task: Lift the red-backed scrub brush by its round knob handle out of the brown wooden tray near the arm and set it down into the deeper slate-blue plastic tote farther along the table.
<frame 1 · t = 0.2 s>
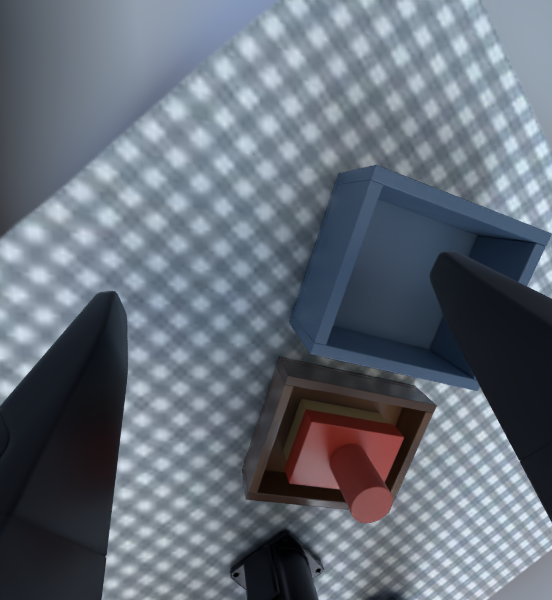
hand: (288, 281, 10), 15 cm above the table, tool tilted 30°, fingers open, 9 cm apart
brown wooden tray: (330, 427, 29), on the table
brush: (332, 431, 28), resting on brown wooden tray
tote: (388, 274, 26), on the table
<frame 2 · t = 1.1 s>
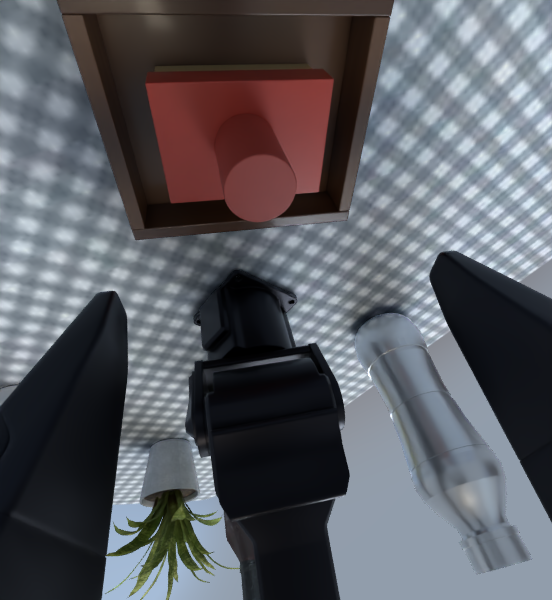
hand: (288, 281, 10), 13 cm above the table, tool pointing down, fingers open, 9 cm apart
house plant: (179, 442, 46), on the table
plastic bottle: (377, 324, 35), on the table
sauce bottle: (241, 396, 41), on the table
brown wooden tray: (235, 115, 18), on the table
brush: (236, 119, 18), resting on brown wooden tray
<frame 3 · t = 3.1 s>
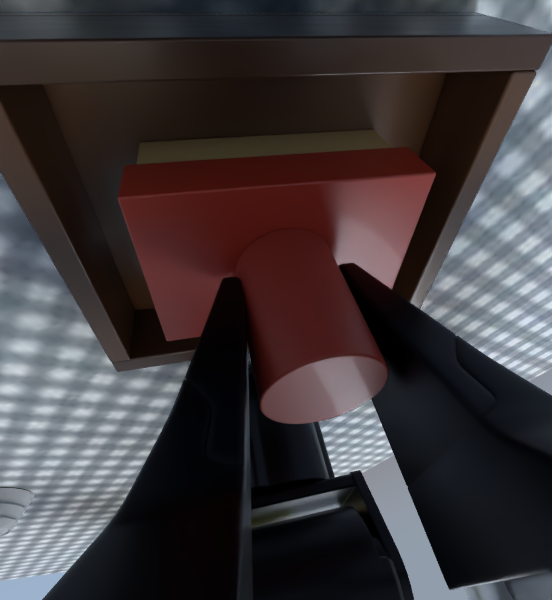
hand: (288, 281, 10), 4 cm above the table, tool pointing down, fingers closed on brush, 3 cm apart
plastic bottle: (417, 398, 30), on the table
brown wooden tray: (261, 197, 12), on the table
brush: (263, 205, 12), point 1 cm above the table, touching brown wooden tray, gripper
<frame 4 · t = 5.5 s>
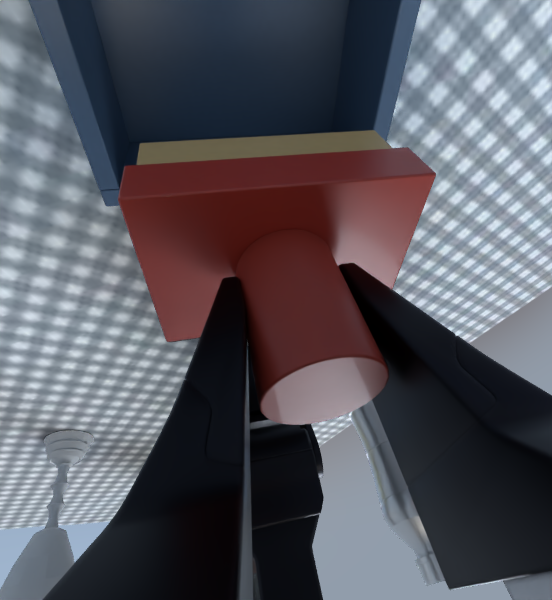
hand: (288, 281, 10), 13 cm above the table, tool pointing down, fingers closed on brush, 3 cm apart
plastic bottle: (358, 373, 42), on the table
brush: (263, 205, 12), point 9 cm above the table, touching gripper
chalice: (69, 438, 40), on the table
tote: (227, 23, 16), on the table
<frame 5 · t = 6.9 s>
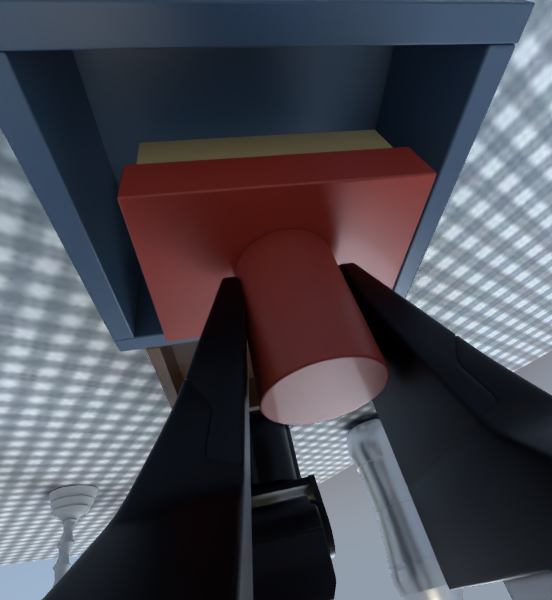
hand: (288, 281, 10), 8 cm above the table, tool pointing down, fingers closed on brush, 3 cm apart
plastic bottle: (366, 422, 42), on the table
brown wooden tray: (253, 338, 25), on the table
brush: (263, 205, 12), point 4 cm above the table, touching gripper
chalice: (74, 491, 39), on the table
tote: (246, 151, 15), on the table
when the fingers open (4 cm above the table, at t = 8.2 s): brush stays where it is, resting on tote.
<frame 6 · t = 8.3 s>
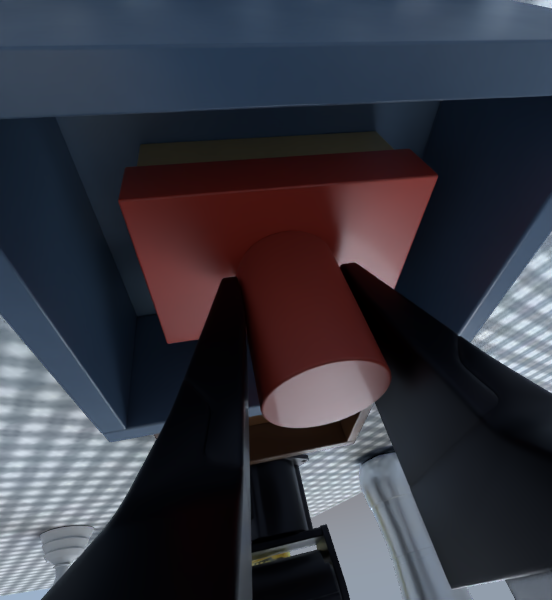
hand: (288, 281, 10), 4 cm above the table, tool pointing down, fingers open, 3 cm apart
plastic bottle: (379, 454, 39), on the table
brown wooden tray: (262, 385, 22), on the table
brush: (264, 207, 12), point 1 cm above the table, touching tote
chalice: (68, 531, 37), on the table
tote: (261, 197, 12), on the table
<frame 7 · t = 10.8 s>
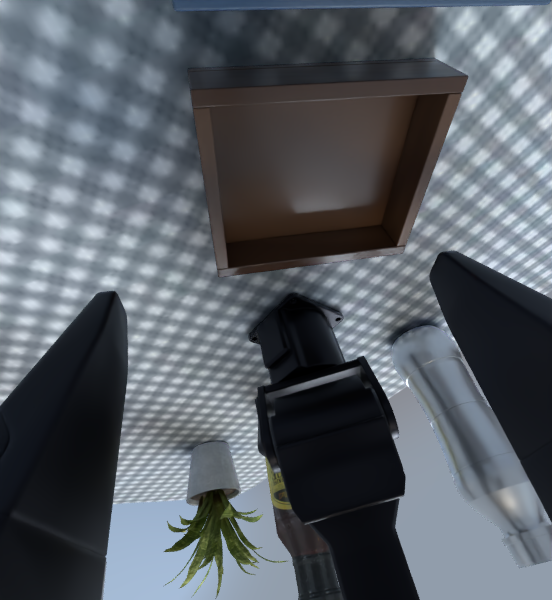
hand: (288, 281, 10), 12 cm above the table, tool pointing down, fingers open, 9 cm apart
house plant: (218, 444, 49), on the table
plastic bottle: (411, 335, 38), on the table
sauce bottle: (280, 402, 43), on the table
brown wooden tray: (309, 166, 20), on the table
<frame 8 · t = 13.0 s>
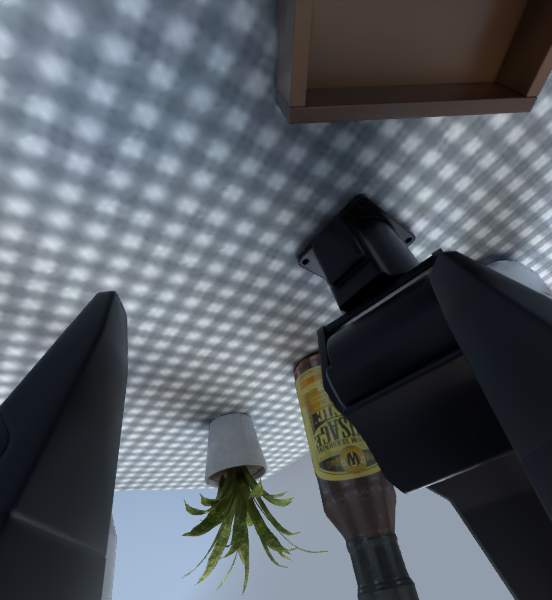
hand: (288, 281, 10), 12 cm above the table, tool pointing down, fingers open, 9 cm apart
house plant: (240, 417, 42), on the table
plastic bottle: (481, 277, 32), on the table
sauce bottle: (317, 363, 37), on the table
chalice: (96, 356, 29), on the table
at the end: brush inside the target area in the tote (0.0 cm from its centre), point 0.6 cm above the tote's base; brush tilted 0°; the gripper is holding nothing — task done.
